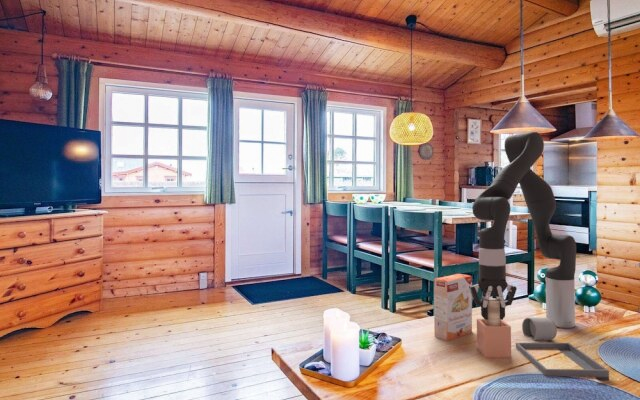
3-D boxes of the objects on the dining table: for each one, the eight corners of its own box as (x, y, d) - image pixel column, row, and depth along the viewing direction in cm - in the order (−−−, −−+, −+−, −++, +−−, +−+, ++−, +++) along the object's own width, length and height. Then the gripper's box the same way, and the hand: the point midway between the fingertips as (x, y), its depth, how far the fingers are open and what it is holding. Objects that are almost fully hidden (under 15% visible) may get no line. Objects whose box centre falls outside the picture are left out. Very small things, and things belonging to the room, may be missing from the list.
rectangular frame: (515, 350, 129) (515, 342, 129) (569, 350, 128) (568, 342, 128) (545, 379, 109) (545, 369, 109) (609, 380, 108) (608, 370, 108)
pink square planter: (477, 350, 130) (476, 318, 130) (502, 350, 129) (501, 318, 129) (484, 360, 122) (484, 326, 122) (511, 360, 122) (510, 326, 121)
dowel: (484, 349, 128) (483, 298, 128) (498, 349, 127) (497, 298, 127) (489, 354, 124) (488, 301, 124) (502, 354, 123) (501, 301, 123)
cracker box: (448, 344, 136) (447, 280, 135) (433, 339, 140) (432, 278, 140) (473, 334, 144) (472, 275, 144) (458, 330, 149) (457, 272, 148)
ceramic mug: (559, 342, 134) (558, 319, 134) (536, 344, 133) (535, 321, 133) (537, 332, 145) (536, 311, 145) (515, 334, 144) (515, 312, 144)
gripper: (511, 260, 128) (512, 315, 129) (464, 260, 129) (465, 315, 130) (521, 264, 121) (522, 322, 121) (471, 265, 122) (472, 322, 122)
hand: (493, 318), depth 125 cm, fingers closed on dowel, 4 cm apart
